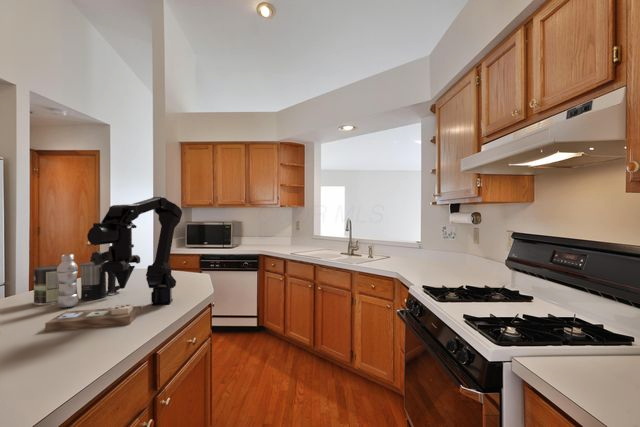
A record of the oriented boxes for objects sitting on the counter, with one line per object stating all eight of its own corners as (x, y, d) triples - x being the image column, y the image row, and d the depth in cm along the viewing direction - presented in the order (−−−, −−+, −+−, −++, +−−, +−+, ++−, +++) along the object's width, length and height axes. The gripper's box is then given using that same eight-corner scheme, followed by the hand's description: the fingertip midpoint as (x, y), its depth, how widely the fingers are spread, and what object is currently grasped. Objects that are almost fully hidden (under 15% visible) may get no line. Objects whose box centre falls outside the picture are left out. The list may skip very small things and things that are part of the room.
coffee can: (29, 306, 122) (28, 270, 122) (39, 300, 132) (39, 266, 132) (62, 303, 127) (62, 268, 127) (69, 297, 136) (69, 264, 136)
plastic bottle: (83, 304, 124) (83, 253, 124) (67, 309, 118) (67, 256, 118) (68, 304, 125) (67, 253, 125) (52, 309, 118) (51, 256, 118)
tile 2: (83, 318, 106) (83, 311, 106) (75, 323, 101) (75, 316, 101) (65, 319, 104) (65, 313, 104) (57, 324, 100) (57, 317, 100)
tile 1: (108, 316, 108) (108, 310, 108) (102, 321, 103) (102, 314, 103) (91, 317, 106) (91, 311, 106) (84, 322, 101) (84, 316, 101)
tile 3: (133, 310, 109) (133, 303, 109) (128, 314, 105) (128, 307, 105) (116, 311, 108) (116, 304, 108) (111, 315, 103) (111, 309, 103)
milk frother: (75, 301, 129) (75, 265, 129) (92, 292, 144) (92, 260, 144) (115, 299, 133) (114, 263, 133) (127, 290, 148) (127, 258, 148)
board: (141, 312, 113) (141, 305, 113) (130, 324, 102) (130, 316, 102) (65, 318, 107) (65, 311, 107) (45, 331, 96) (45, 323, 96)
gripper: (106, 240, 114) (106, 284, 114) (80, 245, 95) (81, 297, 95) (140, 239, 116) (140, 282, 116) (122, 244, 98) (122, 294, 98)
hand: (122, 288), depth 107 cm, fingers closed
